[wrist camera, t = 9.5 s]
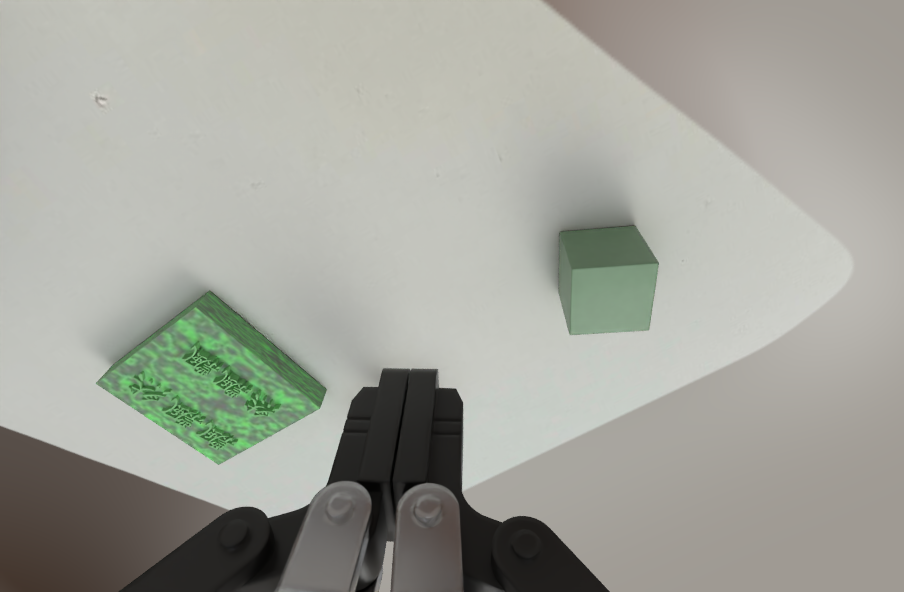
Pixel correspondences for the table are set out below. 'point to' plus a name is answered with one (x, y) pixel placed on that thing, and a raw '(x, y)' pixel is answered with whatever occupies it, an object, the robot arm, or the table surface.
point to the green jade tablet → (213, 381)
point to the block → (606, 280)
